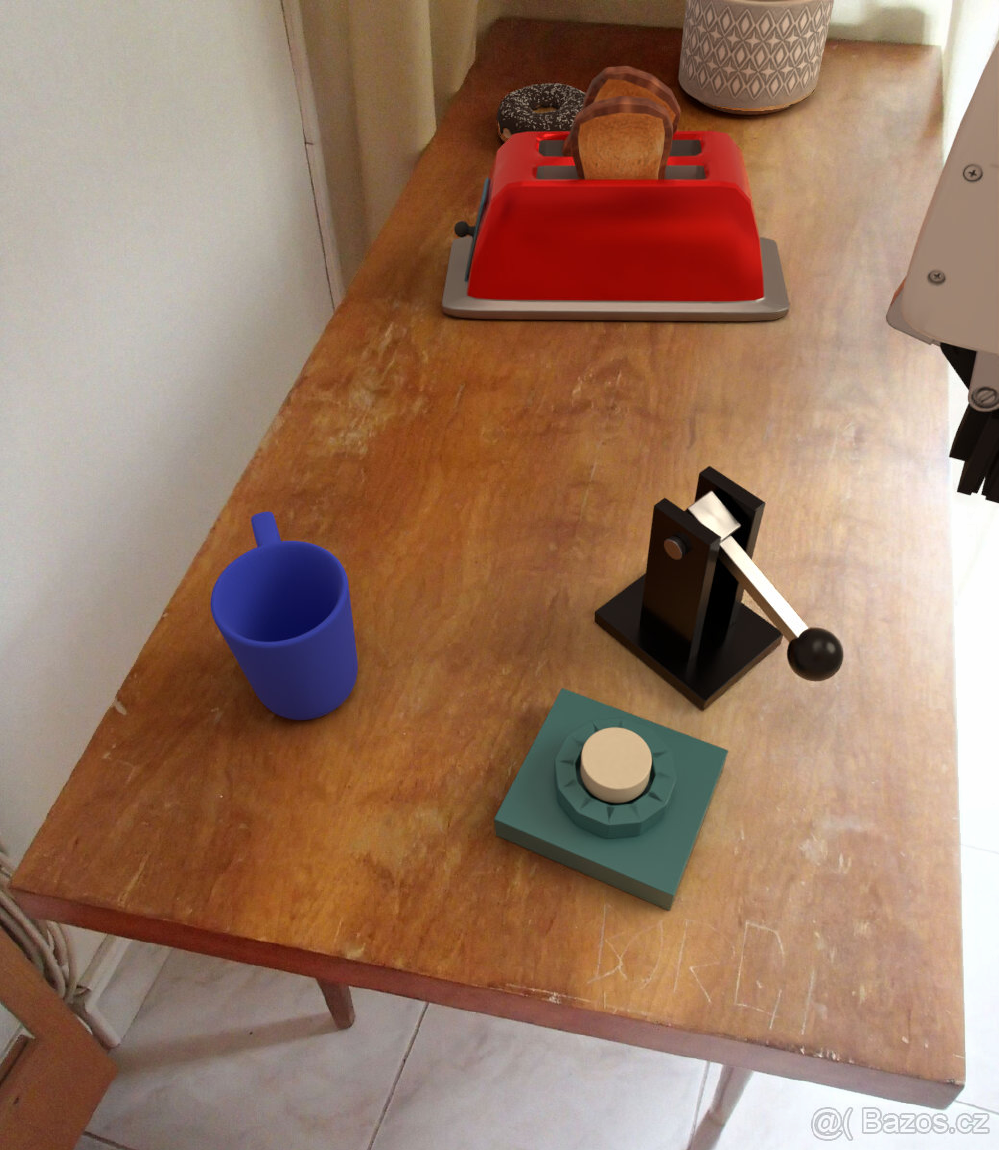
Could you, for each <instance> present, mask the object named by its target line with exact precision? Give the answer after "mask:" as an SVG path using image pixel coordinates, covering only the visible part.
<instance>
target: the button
mask: <svg viewBox="0 0 999 1150" xmlns="http://www.w3.org/2000/svg"><path fill="white" fill-rule="evenodd" d="M651 764H652V757H651V752H650V749H649V747H648V746H647V744H646V743H645V741H644V740H643V739H642V738H641V737H640V736H639V735H637V734H636V733H634V732H632V731H630V730H627V729H624V728H616V727H614V728H606V729H602V730H600V731H598V732H596V733H594V734H593V735H592V736H591V737H590V738H588V740H587V741H586V743H585V744H584V746H583V749H582V754H581V778H582V781H583V783H584V785H585V787H586V788H587V789H588V790H589V792H590V793H592V794H593V795H594V796H595V797H597V798H599V799H601V800H603V801H606V802H611V803H623V802H627V801H630V800H632V799H634V798H636V797H638V796H639V795H640V794H641V793H642V792H643V791H644V790H645V788H646V786H647V784H648V781H649V776H650V770H651Z"/></svg>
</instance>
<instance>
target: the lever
mask: <svg viewBox="0 0 999 1150" xmlns="http://www.w3.org/2000/svg"><path fill="white" fill-rule="evenodd" d="M684 511H685V512H686V513H688V514H689V515H691V516H692V517H693V518H695V519H696V520H698V521H699V522H701V523H702V524H703V525H705V526H706V527H708V528H709V529H711V530H712V531H713V532H715V533H716V534H718V535H719V536H721V541H720V546H719V551H718V556H717V557H718V558H719V559H720V560H721V562H722V563H723V564H724V565H725V566H726V568H727V569H728V570H729V571H730V572H731V574H732V575H733V576H734V577H735V578H736V579H737V581H738V582H739V583H740V584H741V585H742V587H743V588H744V591H745V592H746V593H747V594H748V595H749V596H750V598H751V599H752V600H753V601H754V602H755V604H756V605H757V606H758V607H759V608H760V610H761V611H762V612H763V614H765V615H766V617H767V618H768V619H769V620H770V622H771V623H772V625H773V626H774V627H776V628H777V629H778V630H779V631H780V632H781V633H782V635H783V638H784V639H786V641H787V642H788V644H787V649H786V658H787V662H788V665H789V667H790V669H791V670H792V672H794V673H795V675H797V676H798V677H799V678H801V679H802V680H806V681H809V682H816V683H817V682H823V681H826V680H828V679H831V678H832V677H833V676H835V675H836V674H837V673H838V672H839V670H840V669H841V667H842V665H843V662H844V657H845V656H844V654H845V653H844V648H843V645H842V643H841V641H840V639H839V638H838V636H836V635H835V634H834V633H832V632H831V631H830V630H828V629H826V628H823V627H816V626H815V627H814V626H813V627H812V626H811V627H809V626H808V625H807V624H806V623H805V621H804V620H803V619H802V618H801V617H800V615H798V613H797V612H796V611H795V610H794V609H793V607H792V606H791V605H790V604H789V602H788V601H787V600H786V598H784V596H783V595H782V594H781V592H779V591H778V589H777V588H776V586H775V585H774V584H773V583H772V582H771V581H770V579H768V577H767V576H766V575H765V574H764V572H762V571H761V569H760V568H759V567H758V566H757V564H756V563H755V562H754V561H753V559H752V560H751V559H750V557H749V556H748V555H747V554H746V553H745V552H744V550H743V549H742V548H741V547H740V546H739V544H738V543H737V542H736V541H735V540H734V538H733V537H732V536H731V534H732V533H734V532H735V531H736V530H737V529H738V528H739V527H740V526H741V524H740V523H739V522H738V521H737V520H736V519H735V517H734V516H733V515H732V514H731V513H730V511H729V510H728V509H727V508H726V507H725V506H724V504H723V503H722V502H721V501H720V500H719V498H718V497H717V496H716V495H715V494H714V493H713V491H709V492H708V493H707V494H705V495H704V496H703V497H701V498H700V499H699V500H697V501H696V502H693V503H692V504H690V505H688V507H687V508H685V510H684Z"/></svg>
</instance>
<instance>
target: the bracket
mask: <svg viewBox="0 0 999 1150" xmlns="http://www.w3.org/2000/svg"><path fill="white" fill-rule="evenodd" d="M709 491H713V493H714V494H715V495H716V496H717V497H718V498H719V500H720V501H721V502H722V503H723V504H724V506H725V507H726V508H727V509H728V510H729V511H730V513H731V514H732V515H733V516H734V517H735V519H736V520H737V521H738V522H739V523H740V524H741V526H740V527H739V528H738V529H737V530H736V531H735V532H734V533H732V534H731V536H732V537H733V538H734V540H735V541H736V542H737V543H738V544H739V546H740V547H741V548H742V549H743V550H744V552H745V553H746V554H747V555H748V556H749V557H750V559H751V560H752V561H753V556H754V552H755V549H756V544H757V540H758V536H759V532H760V528H761V523H762V520H763V517H764V511H765V507H766V502H765V501H764V500H762V499H761V498H759V497H758V496H756V495H755V494H754V493H752V492H750V491H748V490H747V489H746V488H744V486H741V485H740V484H738V483H737V482H735V481H734V480H732V479H731V478H729V477H727V476H726V475H724V474H723V473H722V472H720V471H718V470H717V469H716V468H714V467H712V466H711V465H708V466H706V467H705V468H704V469H703V470H702V471H700V472H699V473H698V478H697V484H696V489H695V495H694V502H696V501H697V500H699V499H700V498H701V497H703V496H704V495H705V494H707V493H708V492H709ZM694 502H693V503H694ZM651 517H652V519H651V527H650V534H649V542H648V551H647V559H646V568H645V573H644V574H642V575H641V576H639V577H638V578H637V579H636V580H634V581H633V582H631V583H630V584H629V585H628V586H627V587H625V588H624V589H623V590H621V591H620V592H619V593H617V594H616V595H615V596H613V597H612V598H611V599H609V600H608V601H607V602H605V603H604V604H603V605H601V606H600V607H599V608H597V609H596V610H594V619H593V622H594V623H595V624H597V626H599V628H600V629H602V630H603V631H604V632H606V633H607V634H608V635H610V636H611V637H612V638H613V639H614V640H616V641H617V642H618V643H619V644H620V645H622V646H623V647H624V648H625V649H626V650H628V651H629V653H631V654H633V655H634V656H635V657H636V658H638V659H639V660H640V661H641V662H642V663H643V664H644V665H646V666H647V667H648V668H649V669H650V670H652V671H653V672H654V673H656V674H657V675H658V676H659V677H660V678H661V679H663V680H664V681H665V682H666V683H668V684H669V685H670V686H671V687H672V688H674V689H675V690H676V691H677V692H678V693H679V694H681V695H682V696H684V697H685V698H686V699H687V700H688V701H689V702H691V704H693V705H694V706H695V707H697V708H698V709H699V710H700V711H701V712H704V711H705V710H706V709H707V708H709V707H710V706H711V705H712V704H713V703H714V702H716V701H717V700H718V699H719V698H720V697H721V696H723V695H724V694H725V693H726V692H727V691H728V690H730V689H731V688H732V687H733V686H734V685H736V683H738V682H739V681H740V680H741V679H742V678H744V676H746V674H748V673H749V672H750V671H752V670H753V669H754V668H755V667H756V666H757V665H758V664H759V663H760V662H762V661H763V660H764V659H765V658H766V657H768V656H769V655H770V654H771V653H772V652H773V651H775V649H777V648H778V647H779V646H780V645H781V644H782V641H783V638H784V636H783V635H782V633H781V632H780V631H779V630H778V629H777V627H776V626H775V625H774V624H773V623H772V624H771V623H770V622H769V621H768V620H766V619H765V618H763V617H762V616H761V615H760V614H758V613H757V612H756V611H754V610H752V609H751V608H750V607H749V606H748V605H746V604H744V603H743V602H742V601H743V597H744V593H745V589H744V588H743V587H742V585H741V584H740V583H739V582H738V581H737V579H736V578H735V577H734V576H733V575H732V574H731V572H730V571H729V570H728V569H727V568H726V566H725V565H724V564H723V563H722V562H721V560H720V559H719V558H718V557H717V556H718V551H719V546H720V541H721V536H719V535H718V534H716V533H715V532H713V531H712V530H711V529H709V528H708V527H706V526H705V525H703V524H702V523H701V522H699V521H698V520H696V519H695V518H693V517H692V516H691V515H689V514H688V513H686V512H685V510H683V509H682V508H681V507H679V506H678V505H676V504H675V503H673V502H672V501H671V500H670V499H668V498H666V497H664V498H662V499H661V500H659V501H658V502H656V503H655V504H654V505H653V509H652V516H651Z"/></svg>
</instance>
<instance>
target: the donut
mask: <svg viewBox="0 0 999 1150" xmlns="http://www.w3.org/2000/svg"><path fill="white" fill-rule="evenodd" d="M585 95H586V92H583V91H582V90H580V89H578V88H575V87H574V86H573V85H572V86H570V85H568V84H563V83H559V82H557V83H554V82H553V83H542V84H532V85H527V86H524V87H522V88H519V89H517V90H515V91H512V92H509V93H508V94H506V95H505V97H504V98H502V100H501V102H500V104H499V105H498V108H497V112H496V118H495V119H496V122H497V121H498V126H499V130H500V133H501V134H503V135H504V136H505V137H506V138H510V137H511V136H512V135H513V134H516V133H522V132H539V131H570V130H571V127H572V124H573V121H574V118H575V115H576V114H577V113H579V112H580V111H581V109H582V105H583V101H584V97H585ZM499 137H500V139H501V141H502V142H504V143H505V142H506V141H505V140H504V139H503V138H502V137H501V136H500V135H499Z"/></svg>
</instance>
